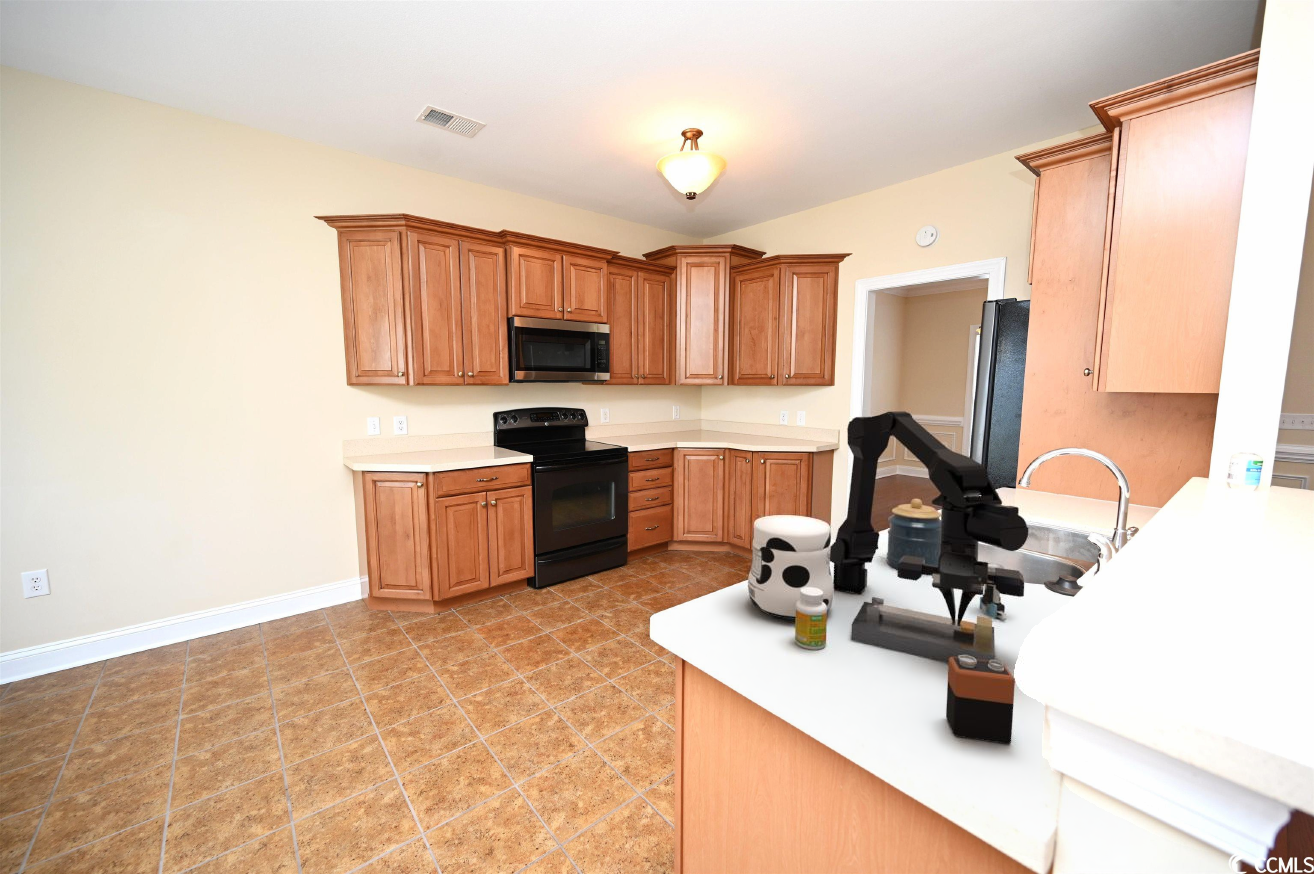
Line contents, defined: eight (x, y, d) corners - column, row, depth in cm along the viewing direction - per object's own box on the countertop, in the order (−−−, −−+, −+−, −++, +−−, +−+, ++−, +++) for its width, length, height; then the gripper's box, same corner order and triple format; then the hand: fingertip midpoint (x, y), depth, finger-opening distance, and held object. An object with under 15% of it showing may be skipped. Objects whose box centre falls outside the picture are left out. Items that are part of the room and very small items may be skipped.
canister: (886, 555, 145) (888, 492, 143) (940, 561, 140) (943, 495, 138) (886, 570, 133) (889, 501, 132) (945, 578, 128) (948, 506, 126)
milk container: (847, 606, 112) (849, 522, 110) (809, 635, 99) (811, 540, 97) (773, 586, 123) (775, 510, 122) (731, 609, 110) (732, 524, 109)
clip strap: (870, 613, 99) (870, 607, 99) (873, 607, 102) (873, 601, 102) (973, 635, 90) (974, 628, 90) (974, 628, 93) (974, 621, 93)
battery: (944, 717, 74) (948, 649, 73) (1000, 725, 72) (1004, 655, 71) (953, 737, 70) (957, 664, 69) (1012, 746, 68) (1016, 671, 67)
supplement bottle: (809, 653, 92) (811, 599, 91) (788, 640, 97) (789, 588, 96) (832, 646, 95) (834, 593, 94) (811, 633, 99) (812, 583, 99)
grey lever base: (851, 640, 97) (852, 608, 96) (864, 615, 107) (865, 587, 107) (993, 673, 85) (995, 637, 85) (993, 643, 96) (995, 610, 95)
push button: (1017, 621, 104) (1020, 572, 103) (990, 622, 104) (992, 572, 103) (995, 607, 111) (997, 561, 110) (969, 608, 111) (972, 561, 110)
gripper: (893, 538, 90) (891, 628, 91) (1028, 555, 80) (1023, 655, 81) (902, 524, 99) (900, 605, 101) (1023, 537, 89) (1019, 627, 91)
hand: (956, 622), depth 93 cm, fingers closed
